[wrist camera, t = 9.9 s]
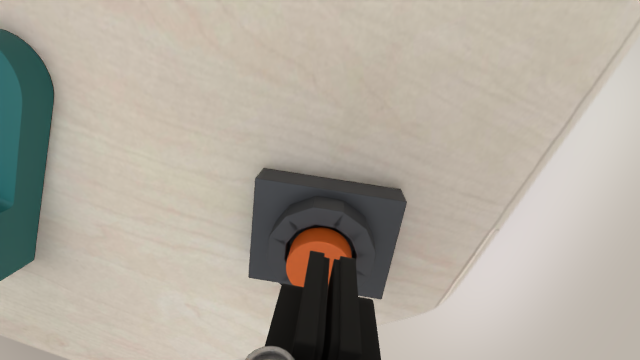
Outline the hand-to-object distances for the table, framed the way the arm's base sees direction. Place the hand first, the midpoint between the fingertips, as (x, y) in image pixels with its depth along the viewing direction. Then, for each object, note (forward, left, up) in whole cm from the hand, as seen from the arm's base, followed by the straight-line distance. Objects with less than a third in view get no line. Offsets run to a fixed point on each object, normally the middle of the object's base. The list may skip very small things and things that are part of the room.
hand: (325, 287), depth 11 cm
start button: (0, +4, -8) cm, 9 cm away
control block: (0, +4, -12) cm, 12 cm away
